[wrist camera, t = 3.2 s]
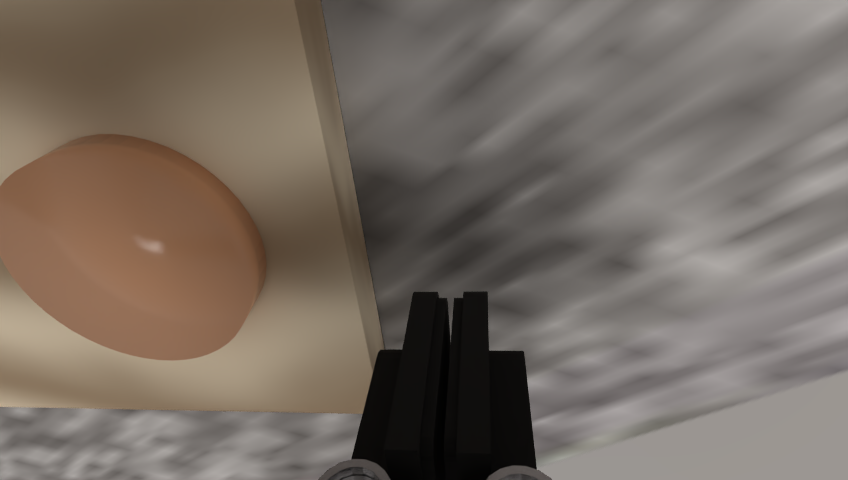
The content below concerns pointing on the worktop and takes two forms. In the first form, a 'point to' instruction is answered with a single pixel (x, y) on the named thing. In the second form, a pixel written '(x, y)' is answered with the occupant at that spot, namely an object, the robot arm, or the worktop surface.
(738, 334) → the worktop surface
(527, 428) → the robot arm
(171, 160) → the brown round disc
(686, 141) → the worktop surface
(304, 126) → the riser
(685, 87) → the worktop surface
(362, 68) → the worktop surface
